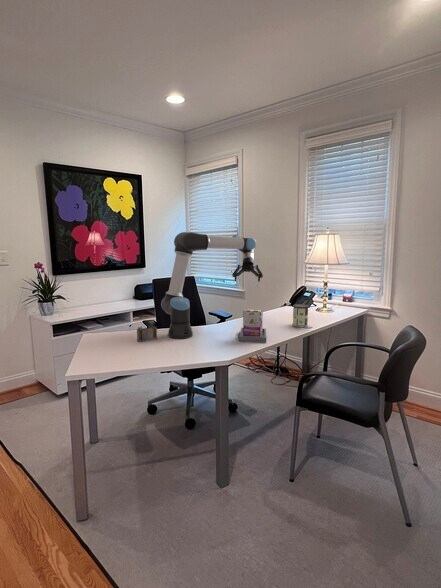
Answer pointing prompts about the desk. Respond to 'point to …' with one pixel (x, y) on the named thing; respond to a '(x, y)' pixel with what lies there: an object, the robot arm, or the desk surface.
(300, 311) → the coffee can
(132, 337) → the desk surface
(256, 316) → the candy bar box
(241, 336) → the tray
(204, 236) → the robot arm
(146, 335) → the ruin model on sheet
